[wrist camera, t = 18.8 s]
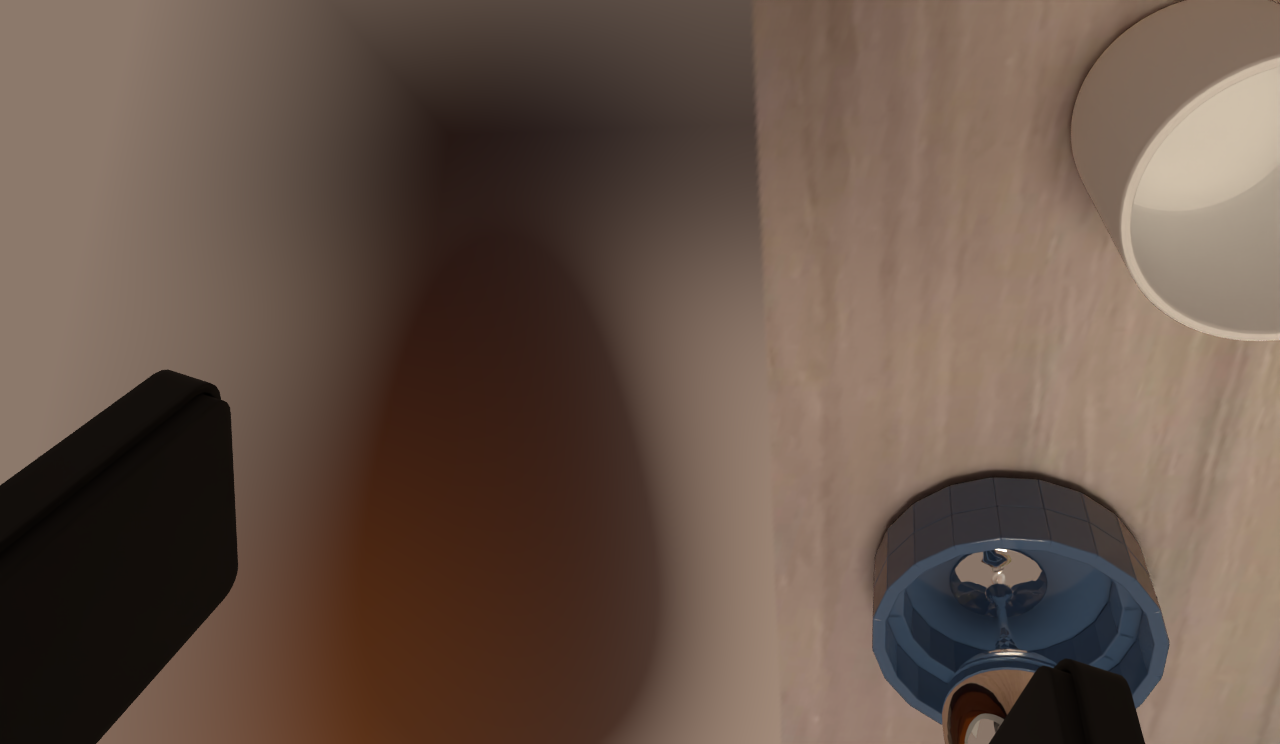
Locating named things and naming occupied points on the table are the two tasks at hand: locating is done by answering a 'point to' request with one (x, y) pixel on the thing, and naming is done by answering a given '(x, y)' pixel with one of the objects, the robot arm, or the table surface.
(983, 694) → the wineglass
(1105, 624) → the bowl
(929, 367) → the table surface
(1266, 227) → the cup
